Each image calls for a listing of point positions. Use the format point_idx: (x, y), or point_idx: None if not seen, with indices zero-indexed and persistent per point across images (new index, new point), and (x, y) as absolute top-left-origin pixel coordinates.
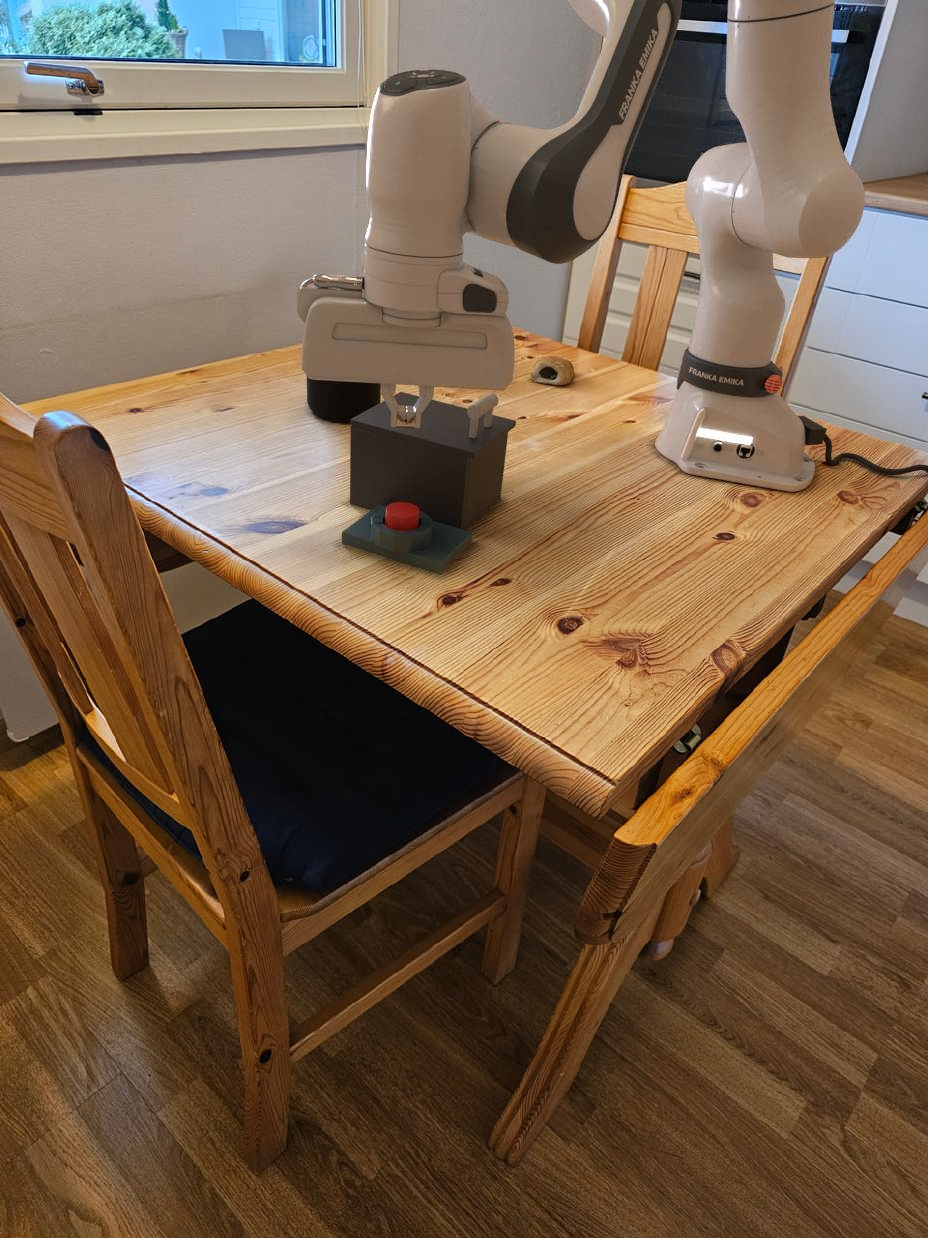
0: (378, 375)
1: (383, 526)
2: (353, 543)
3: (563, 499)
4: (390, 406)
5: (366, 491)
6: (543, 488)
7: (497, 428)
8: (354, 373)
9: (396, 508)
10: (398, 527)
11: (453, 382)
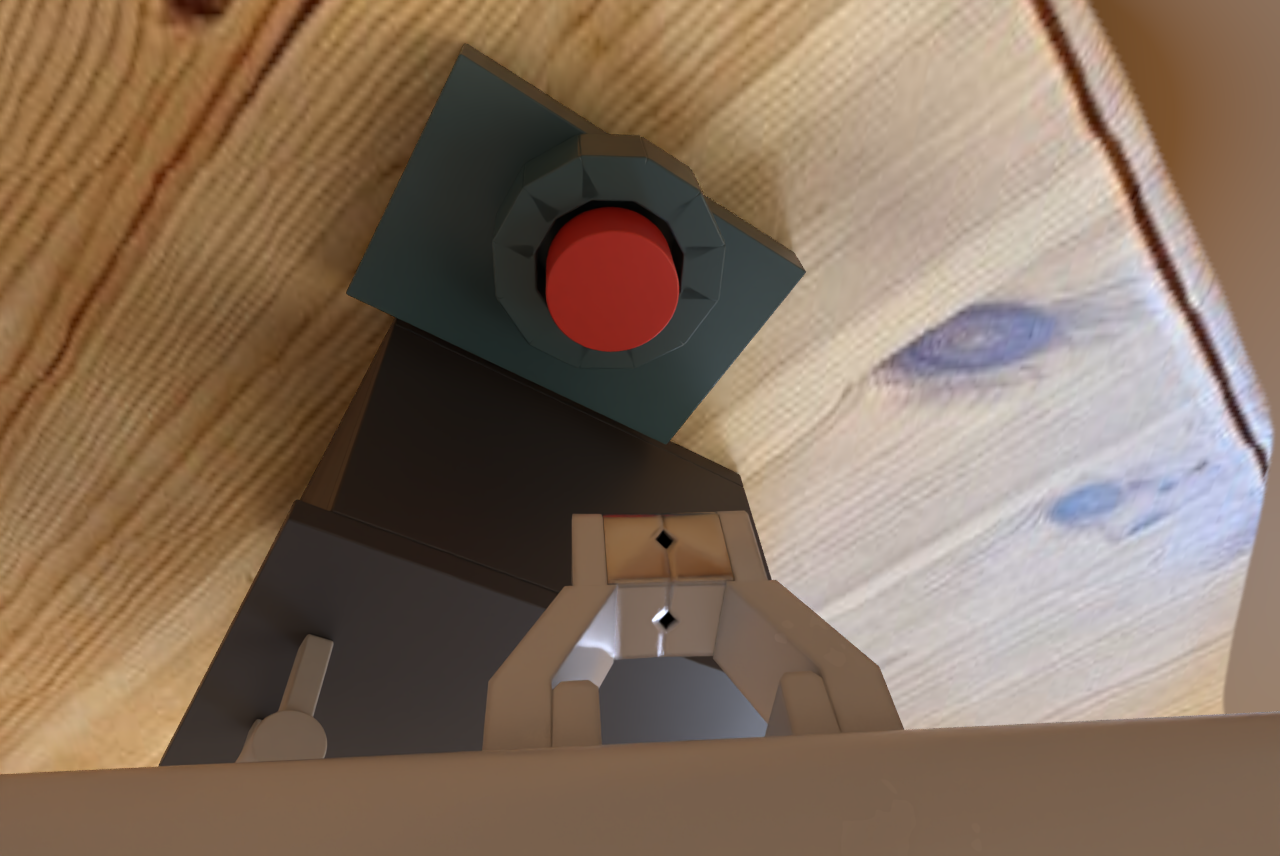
0: (989, 784)
1: (683, 229)
2: (764, 236)
3: (75, 555)
4: (785, 599)
5: (705, 491)
6: (154, 604)
7: (219, 718)
8: (1191, 777)
9: (636, 301)
10: (628, 214)
11: (286, 800)
